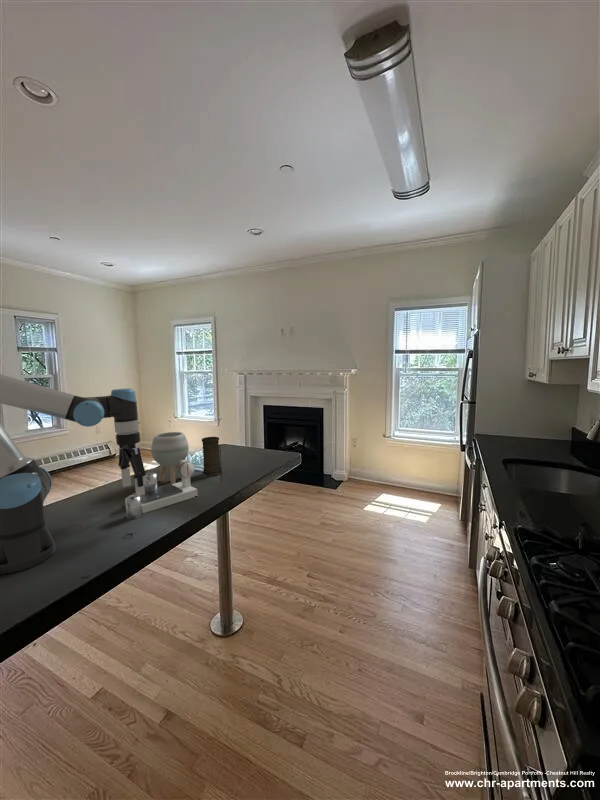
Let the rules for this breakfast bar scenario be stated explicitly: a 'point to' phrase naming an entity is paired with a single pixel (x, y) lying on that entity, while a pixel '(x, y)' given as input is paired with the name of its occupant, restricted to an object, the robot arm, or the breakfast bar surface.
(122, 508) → the breakfast bar surface
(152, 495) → the pan
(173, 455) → the planter
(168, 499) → the scale
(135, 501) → the spacer
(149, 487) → the spacer
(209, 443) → the container
